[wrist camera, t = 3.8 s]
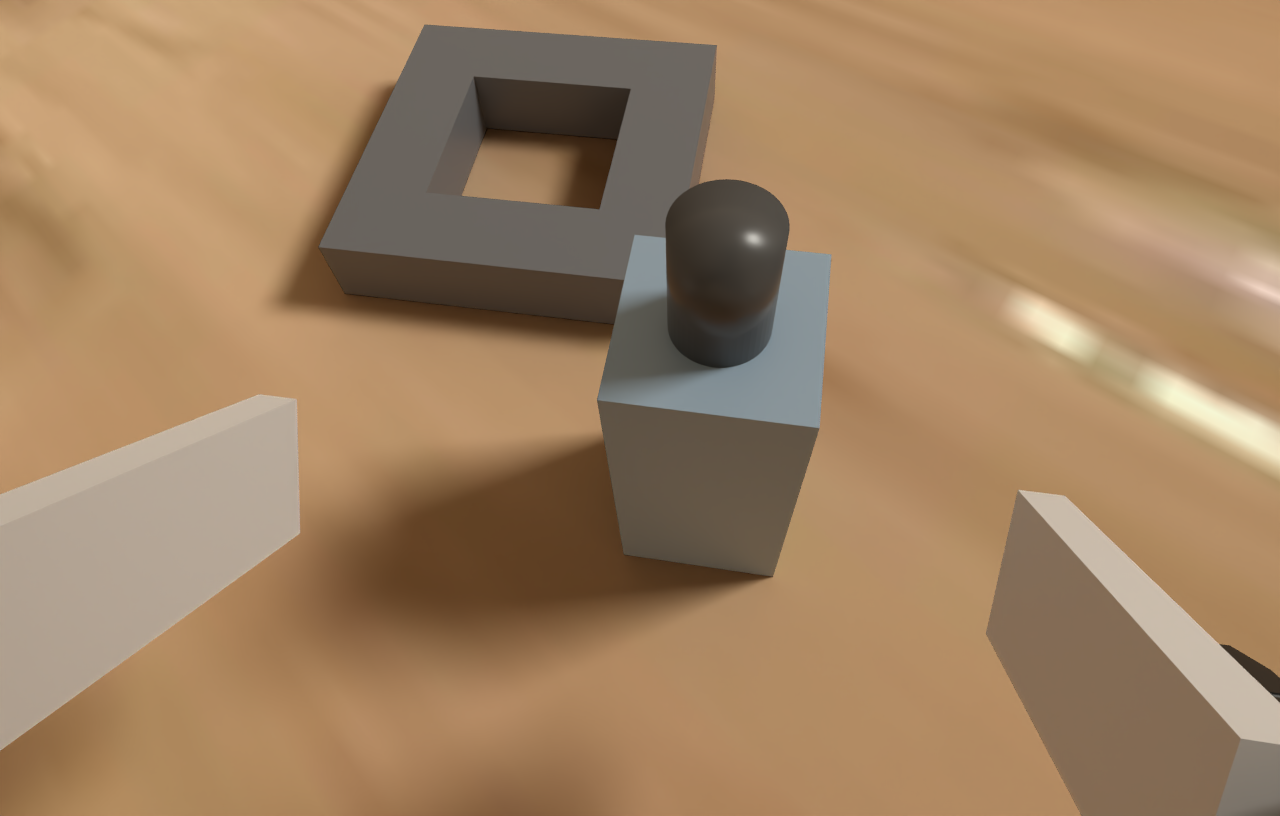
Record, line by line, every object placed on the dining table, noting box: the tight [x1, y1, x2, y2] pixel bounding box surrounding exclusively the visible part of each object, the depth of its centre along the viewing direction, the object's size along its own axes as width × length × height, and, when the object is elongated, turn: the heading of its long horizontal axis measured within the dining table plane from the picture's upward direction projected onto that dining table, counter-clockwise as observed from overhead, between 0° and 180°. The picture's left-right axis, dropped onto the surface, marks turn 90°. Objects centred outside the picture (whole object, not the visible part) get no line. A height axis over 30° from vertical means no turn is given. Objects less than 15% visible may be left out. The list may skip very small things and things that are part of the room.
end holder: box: [319, 25, 717, 324], centre depth 30 cm, size 12×12×2 cm
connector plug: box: [597, 179, 831, 577], centre depth 20 cm, size 4×4×12 cm
